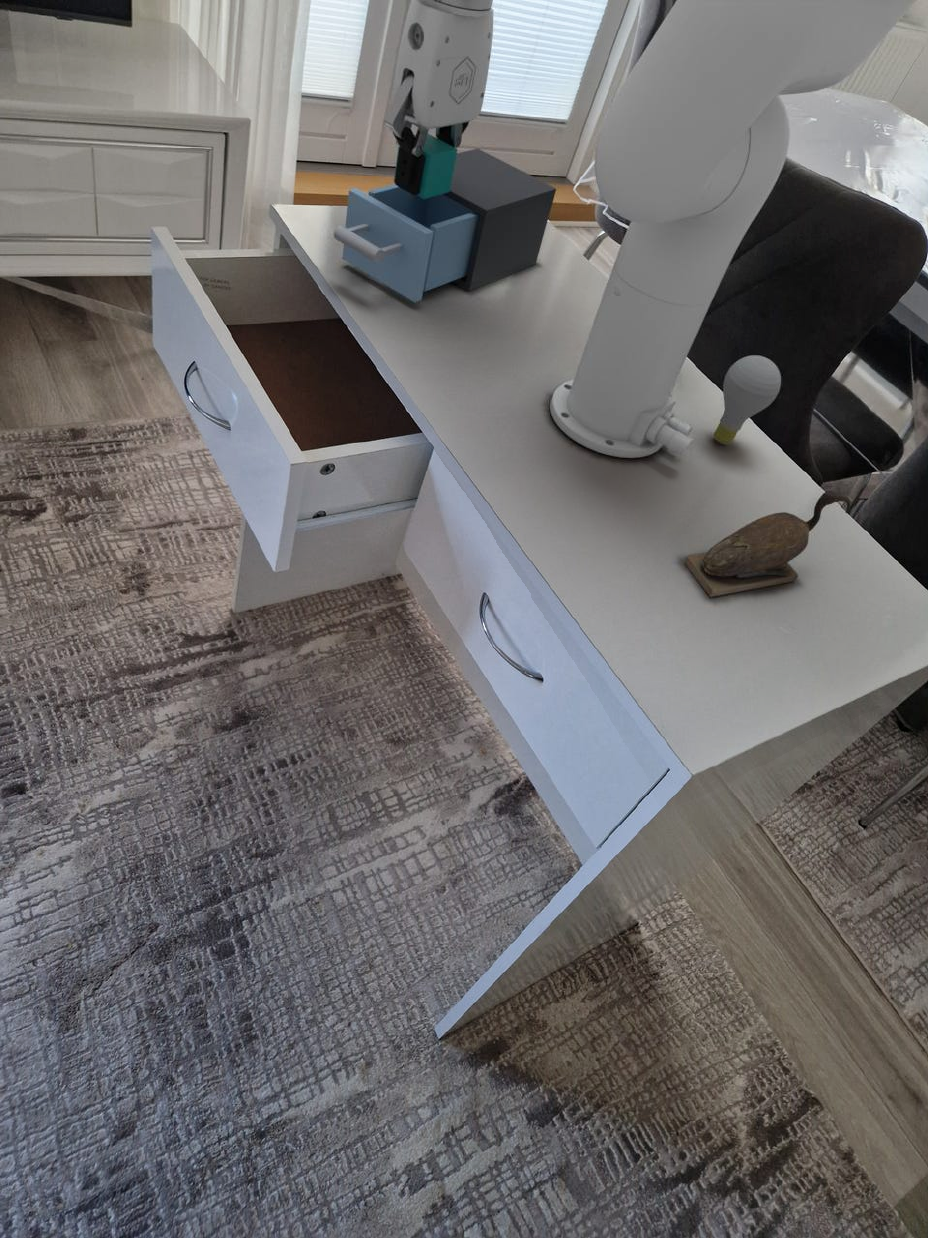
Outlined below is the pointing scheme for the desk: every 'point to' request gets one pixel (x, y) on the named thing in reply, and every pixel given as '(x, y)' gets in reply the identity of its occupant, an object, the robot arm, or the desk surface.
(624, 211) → the robot arm
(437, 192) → the teal cube
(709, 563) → the figurine
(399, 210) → the blue drawer
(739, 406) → the light bulb
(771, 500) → the desk surface
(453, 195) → the drawer cabinet
